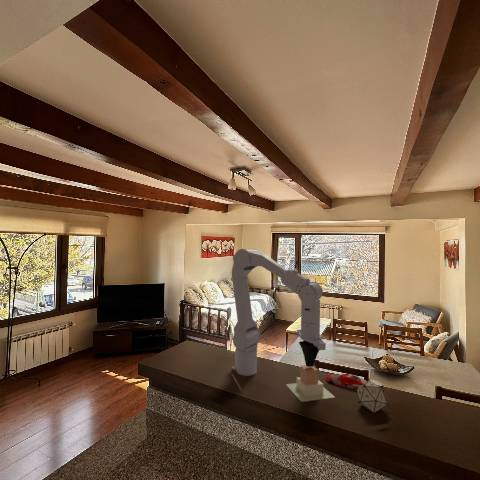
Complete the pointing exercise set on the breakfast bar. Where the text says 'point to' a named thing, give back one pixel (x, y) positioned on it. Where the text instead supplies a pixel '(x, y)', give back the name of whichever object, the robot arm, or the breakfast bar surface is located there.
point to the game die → (371, 396)
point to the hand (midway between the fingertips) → (309, 365)
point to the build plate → (303, 398)
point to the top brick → (309, 374)
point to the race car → (345, 380)
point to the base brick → (309, 387)
